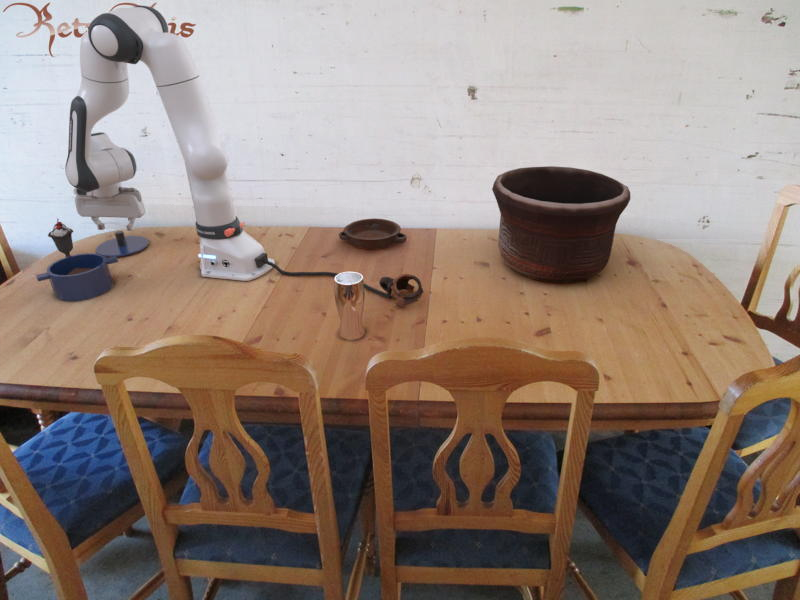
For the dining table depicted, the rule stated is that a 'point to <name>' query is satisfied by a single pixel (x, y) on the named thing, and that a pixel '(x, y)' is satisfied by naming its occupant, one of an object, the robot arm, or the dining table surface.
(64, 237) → the sundae
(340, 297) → the beer glass
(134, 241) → the lid
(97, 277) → the pot
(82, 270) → the brownie
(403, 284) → the pottery mug
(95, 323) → the dining table surface
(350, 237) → the dish
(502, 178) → the ceramic pot
